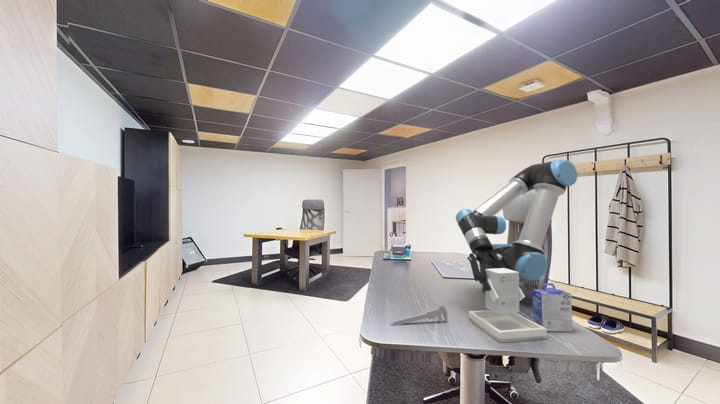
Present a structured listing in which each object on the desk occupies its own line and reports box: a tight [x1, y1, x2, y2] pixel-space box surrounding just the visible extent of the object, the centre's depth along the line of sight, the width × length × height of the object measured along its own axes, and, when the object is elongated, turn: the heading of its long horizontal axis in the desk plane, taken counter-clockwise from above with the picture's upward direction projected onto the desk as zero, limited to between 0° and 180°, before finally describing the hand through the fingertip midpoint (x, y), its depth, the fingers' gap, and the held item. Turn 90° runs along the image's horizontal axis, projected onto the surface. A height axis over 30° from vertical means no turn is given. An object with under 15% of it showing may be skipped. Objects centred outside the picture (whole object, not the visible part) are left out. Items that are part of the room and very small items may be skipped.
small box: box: [484, 268, 520, 314], centre depth 85 cm, size 8×6×13 cm
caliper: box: [389, 304, 448, 326], centre depth 89 cm, size 20×1×6 cm, turn 98°
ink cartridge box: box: [531, 282, 574, 333], centre depth 86 cm, size 10×6×14 cm, turn 89°
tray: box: [468, 309, 548, 344], centre depth 85 cm, size 16×16×3 cm
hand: (509, 299), depth 82 cm, fingers closed on small box, 8 cm apart
